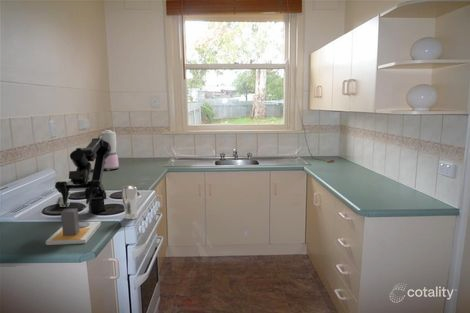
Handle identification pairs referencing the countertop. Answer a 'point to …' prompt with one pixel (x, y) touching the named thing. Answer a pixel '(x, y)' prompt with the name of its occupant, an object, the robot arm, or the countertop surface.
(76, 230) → the chute block
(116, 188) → the countertop surface
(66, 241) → the white plate with inlay
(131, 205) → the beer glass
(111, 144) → the blender
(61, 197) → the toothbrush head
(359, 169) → the countertop surface
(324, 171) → the countertop surface
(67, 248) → the countertop surface
